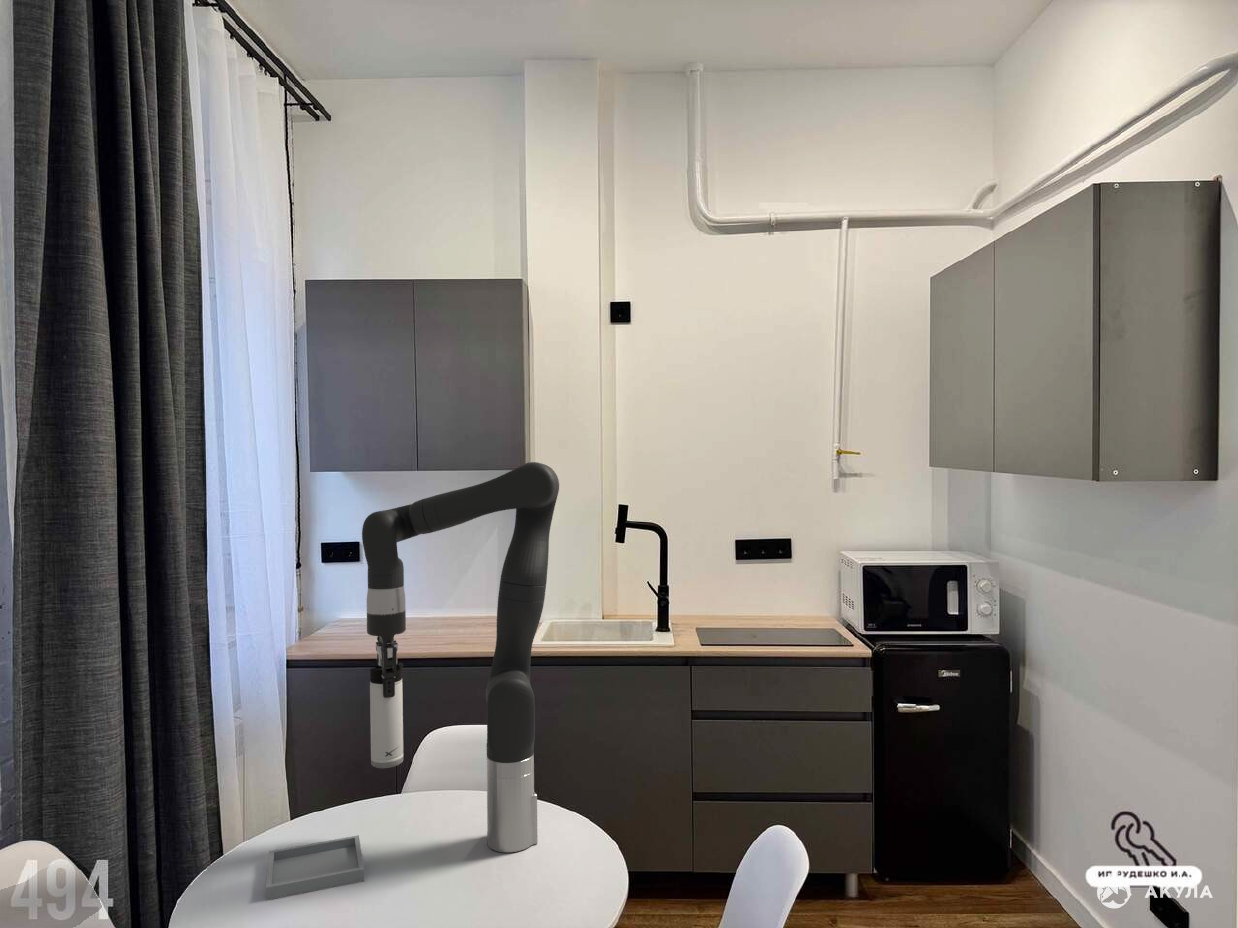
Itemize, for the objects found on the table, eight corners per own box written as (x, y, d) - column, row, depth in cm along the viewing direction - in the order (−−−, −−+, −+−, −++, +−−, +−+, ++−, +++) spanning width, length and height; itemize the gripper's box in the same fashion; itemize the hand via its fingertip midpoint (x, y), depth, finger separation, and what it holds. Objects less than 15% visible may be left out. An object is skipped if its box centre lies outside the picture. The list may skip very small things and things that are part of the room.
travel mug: (395, 769, 154) (394, 667, 154) (365, 767, 155) (363, 666, 155) (410, 757, 160) (409, 660, 160) (380, 755, 161) (379, 658, 161)
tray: (358, 846, 153) (358, 835, 153) (364, 880, 140) (363, 868, 140) (269, 862, 147) (269, 850, 147) (266, 900, 134) (266, 887, 134)
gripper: (409, 613, 152) (410, 699, 152) (401, 602, 166) (402, 681, 166) (369, 617, 149) (370, 704, 149) (364, 605, 163) (365, 685, 163)
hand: (387, 692), depth 157 cm, fingers closed on travel mug, 6 cm apart
